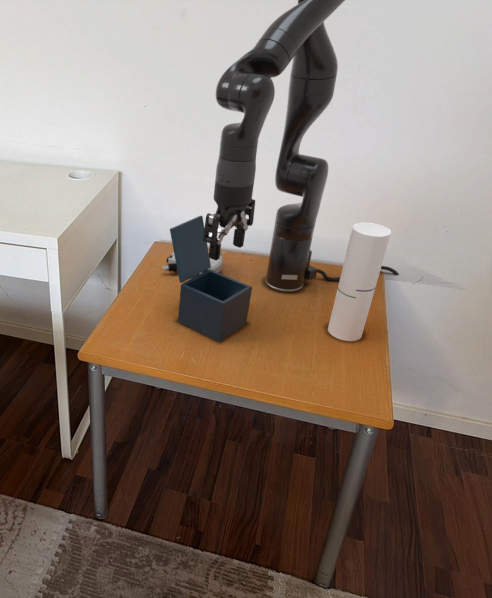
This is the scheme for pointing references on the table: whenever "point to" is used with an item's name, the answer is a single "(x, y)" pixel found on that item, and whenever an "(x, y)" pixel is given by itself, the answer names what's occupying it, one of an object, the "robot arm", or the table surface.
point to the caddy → (214, 304)
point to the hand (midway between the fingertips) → (226, 252)
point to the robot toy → (215, 266)
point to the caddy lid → (190, 248)
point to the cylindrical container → (358, 280)
